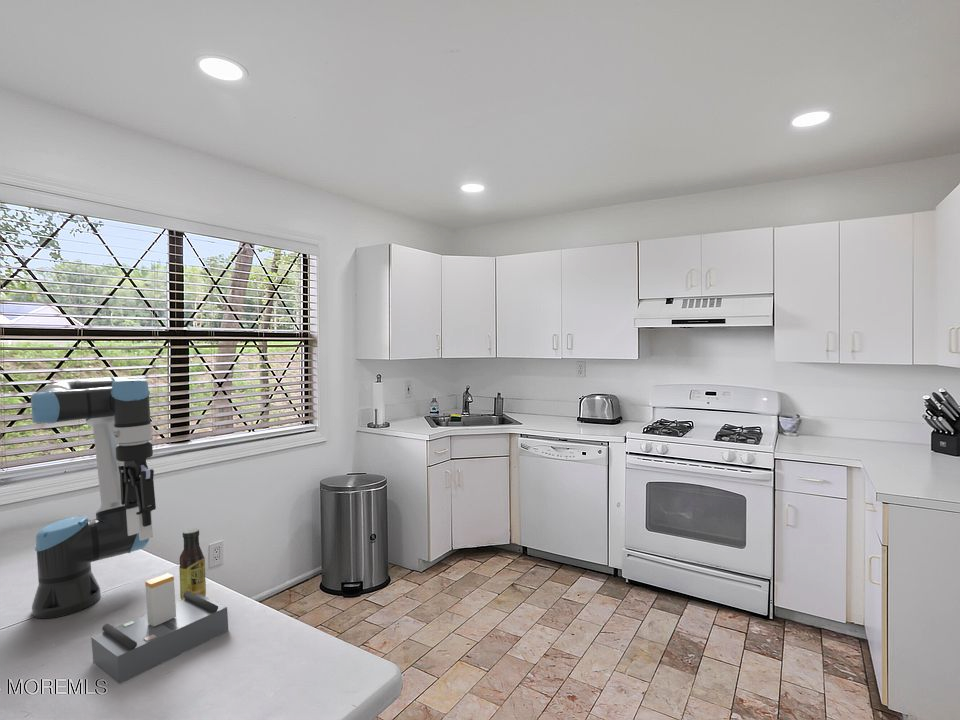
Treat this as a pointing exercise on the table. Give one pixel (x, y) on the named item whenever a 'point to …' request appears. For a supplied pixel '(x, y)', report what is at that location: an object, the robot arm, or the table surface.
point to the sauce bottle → (192, 565)
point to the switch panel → (157, 639)
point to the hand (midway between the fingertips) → (140, 536)
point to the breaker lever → (160, 599)
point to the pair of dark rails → (132, 644)
